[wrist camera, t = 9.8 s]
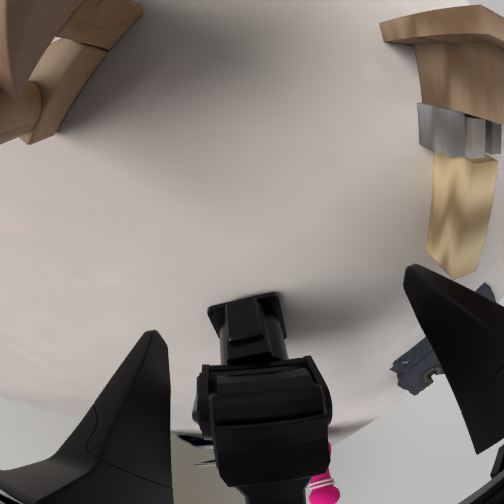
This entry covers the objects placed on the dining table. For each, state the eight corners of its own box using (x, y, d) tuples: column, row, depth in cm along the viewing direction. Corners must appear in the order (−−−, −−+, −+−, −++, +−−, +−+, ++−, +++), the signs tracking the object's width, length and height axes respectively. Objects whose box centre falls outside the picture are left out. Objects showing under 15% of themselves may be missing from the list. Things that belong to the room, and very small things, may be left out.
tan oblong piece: (448, 243, 24) (476, 269, 20) (425, 250, 24) (453, 280, 20) (458, 110, 16) (499, 122, 12) (432, 109, 16) (475, 121, 12)
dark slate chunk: (493, 310, 35) (505, 327, 31) (409, 382, 43) (418, 401, 39) (486, 273, 29) (504, 293, 25) (380, 367, 36) (391, 391, 32)
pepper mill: (288, 434, 46) (305, 518, 30) (321, 423, 45) (344, 509, 29) (298, 440, 50) (314, 515, 33) (329, 431, 49) (349, 507, 32)
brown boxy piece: (483, 140, 18) (559, 179, 9) (397, 146, 18) (492, 196, 10) (476, 44, 12) (558, 57, 4) (379, 23, 12) (480, 4, 4)
